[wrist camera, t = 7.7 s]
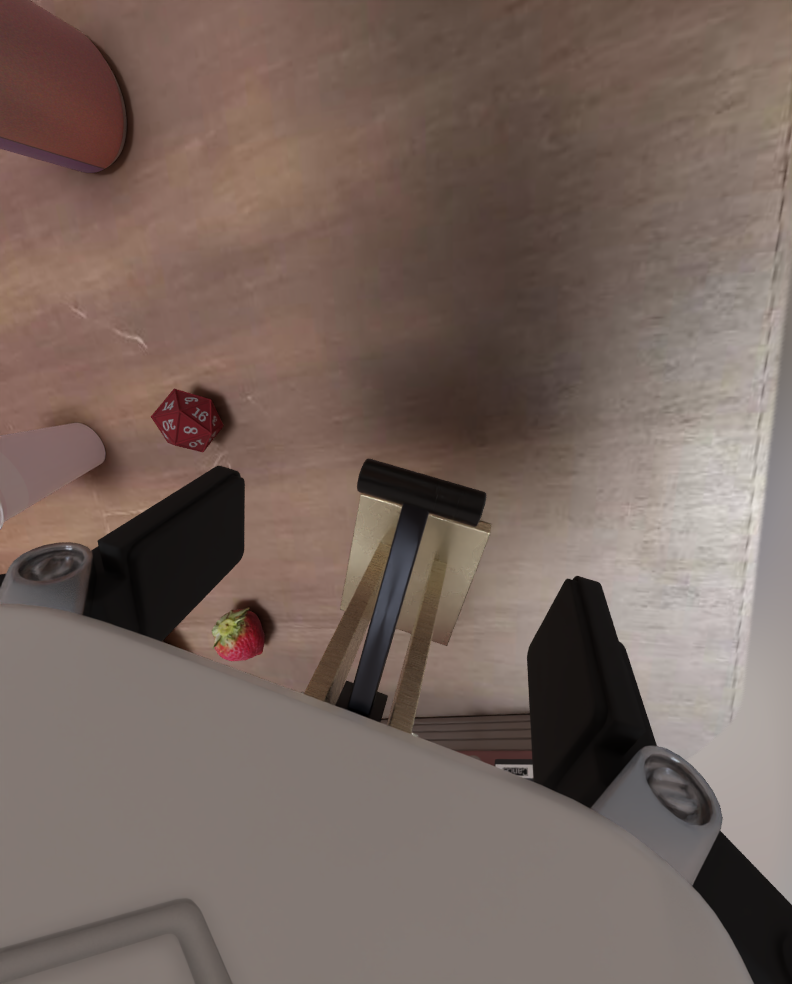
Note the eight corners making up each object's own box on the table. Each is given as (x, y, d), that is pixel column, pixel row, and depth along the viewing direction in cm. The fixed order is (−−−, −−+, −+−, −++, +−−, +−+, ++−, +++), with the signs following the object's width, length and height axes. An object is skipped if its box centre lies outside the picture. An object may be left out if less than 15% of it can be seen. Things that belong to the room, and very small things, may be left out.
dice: (216, 376, 27) (174, 389, 24) (241, 438, 29) (205, 458, 25) (174, 387, 28) (127, 401, 25) (200, 446, 30) (161, 467, 27)
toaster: (566, 670, 31) (624, 1021, 16) (642, 913, 43) (715, 1241, 28) (264, 692, 42) (131, 914, 27) (392, 881, 54) (349, 1106, 39)
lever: (373, 454, 17) (358, 461, 15) (485, 487, 17) (488, 499, 15) (309, 715, 21) (289, 753, 19) (400, 749, 20) (391, 793, 18)
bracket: (365, 486, 28) (249, 649, 15) (490, 524, 27) (477, 732, 14) (344, 599, 34) (245, 791, 21) (448, 634, 32) (411, 859, 20)
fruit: (243, 641, 39) (211, 685, 35) (226, 593, 37) (188, 633, 32) (282, 646, 38) (253, 692, 34) (267, 597, 36) (234, 639, 31)
